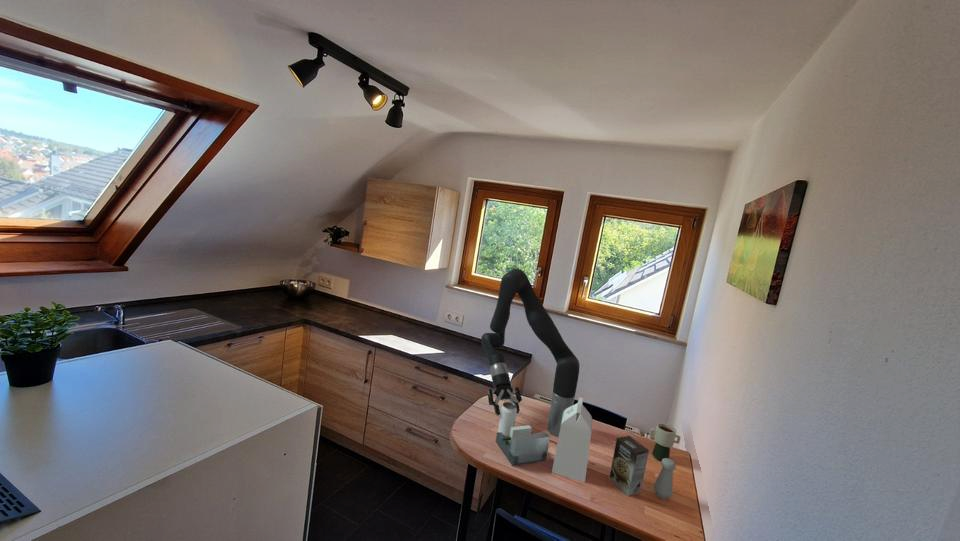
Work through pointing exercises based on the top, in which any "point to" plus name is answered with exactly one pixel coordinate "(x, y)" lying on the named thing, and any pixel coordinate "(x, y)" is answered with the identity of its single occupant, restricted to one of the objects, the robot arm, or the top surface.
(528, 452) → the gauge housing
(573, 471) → the milk
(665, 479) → the salt shaker
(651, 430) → the character mug
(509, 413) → the can
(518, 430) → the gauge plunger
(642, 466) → the coffee box
